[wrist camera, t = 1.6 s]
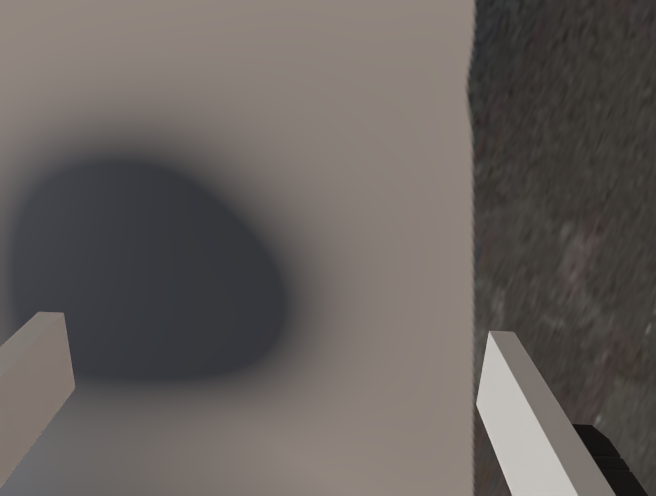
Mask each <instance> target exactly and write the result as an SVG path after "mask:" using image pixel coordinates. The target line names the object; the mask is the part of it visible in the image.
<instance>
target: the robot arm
mask: <svg viewBox="0 0 656 496" xmlns="http://www.w3.org/2000/svg"><path fill="white" fill-rule="evenodd" d="M74 389H75V384H74V377H73V371H72V365H71V357H70V351H69V344H68V338H67V332H66V326H65V319H64V313H53V312H38V313H37V314H36V315H35V316H34V317H33V318H31V319H30V320H29V321H28V322H27V323H26V324H25V325H24V326H23V327H22V328H20V329H19V330H18V331H17V332H16V333H15V334H14V335H13V336H12V337H11V338H10V339H9V340H7V341H6V342H5V343H4V344H3V345H2V346H1V347H0V488H1V487H2V485H3V484H4V483H5V481H6V480H7V479H8V477H9V476H10V475H11V473H12V472H13V471H14V469H15V468H16V467H17V465H18V464H19V462H20V461H21V460H22V459H23V457H24V456H25V455H26V453H27V452H28V451H29V449H30V448H31V446H32V445H33V444H34V442H35V441H36V440H37V438H38V437H39V436H40V434H41V433H42V432H43V430H44V429H45V428H46V426H47V425H48V424H49V422H50V421H51V419H52V418H53V417H54V416H55V414H56V413H57V412H58V410H59V409H60V408H61V406H62V405H63V404H64V402H65V401H66V400H67V398H68V397H69V395H70V394H71V393H72V392H73V390H74ZM476 405H477V407H478V410H479V412H480V415H481V417H482V420H483V423H484V425H485V428H486V430H487V433H488V435H489V438H490V440H491V443H492V445H493V448H494V450H495V453H496V455H497V458H498V460H499V463H500V466H501V468H502V471H503V473H504V476H505V478H506V481H507V483H508V486H509V488H510V491H511V493H512V496H648V495H647V493H646V492H645V491H644V489H643V488H642V486H641V485H640V483H639V482H638V480H637V479H636V478H635V476H634V475H633V473H632V472H630V471H629V468H628V466H627V465H626V463H625V462H624V460H623V459H621V458H620V455H619V453H618V452H617V450H616V449H615V447H614V446H613V444H612V443H611V442H610V440H609V439H608V438H607V437H605V436H604V435H603V434H602V433H600V432H599V431H598V430H597V429H595V428H594V427H593V426H592V425H578V424H571V423H570V421H569V420H568V418H567V416H566V415H565V413H564V412H563V410H562V408H561V407H560V405H559V404H558V402H557V400H556V399H555V397H554V395H553V394H552V392H551V391H550V389H549V387H548V386H547V384H546V383H545V381H544V379H543V378H542V376H541V375H540V373H539V371H538V370H537V368H536V367H535V365H534V363H533V362H532V360H531V359H530V357H529V355H528V354H527V352H526V351H525V349H524V347H523V346H522V344H521V343H520V341H519V339H518V338H517V336H516V335H515V333H514V332H504V331H489V335H488V340H487V346H486V352H485V358H484V363H483V369H482V375H481V381H480V386H479V392H478V398H477V403H476Z"/></svg>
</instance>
